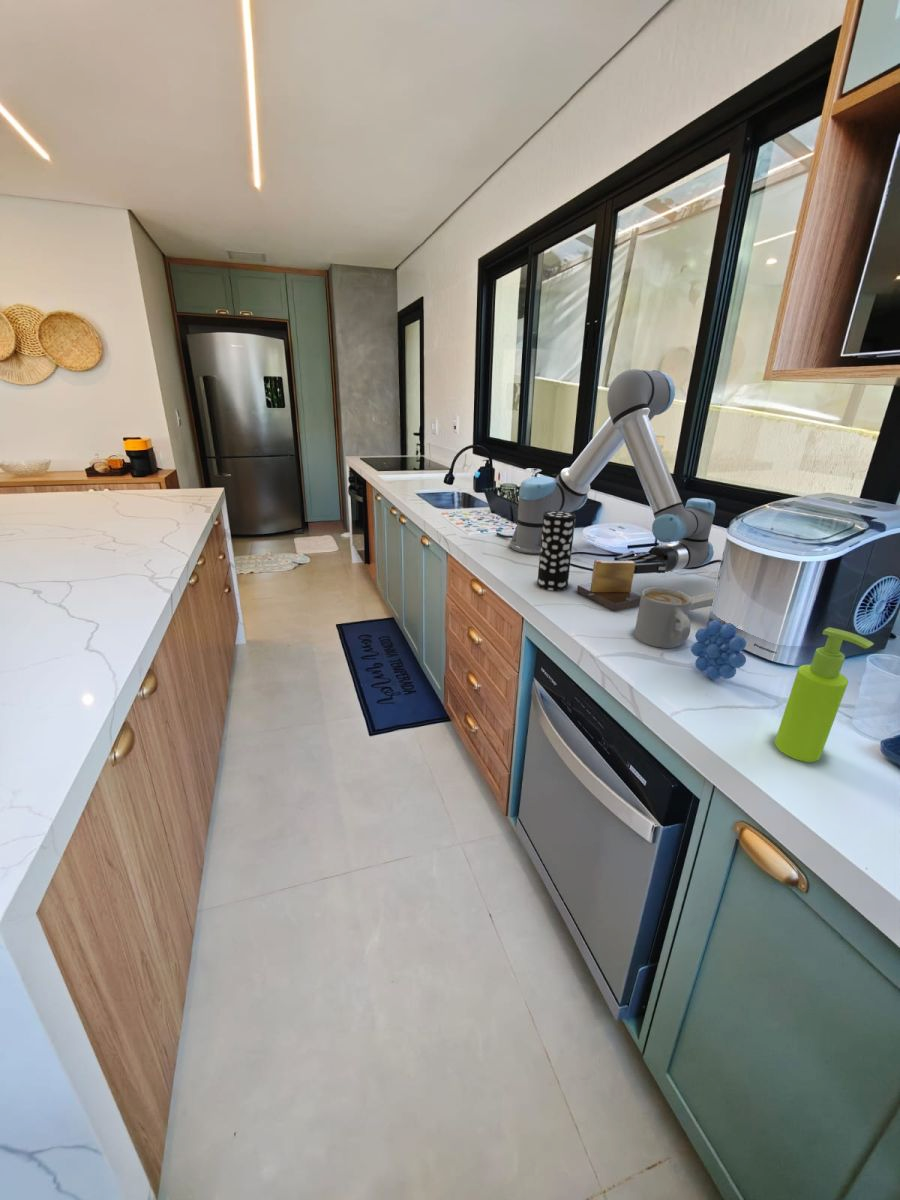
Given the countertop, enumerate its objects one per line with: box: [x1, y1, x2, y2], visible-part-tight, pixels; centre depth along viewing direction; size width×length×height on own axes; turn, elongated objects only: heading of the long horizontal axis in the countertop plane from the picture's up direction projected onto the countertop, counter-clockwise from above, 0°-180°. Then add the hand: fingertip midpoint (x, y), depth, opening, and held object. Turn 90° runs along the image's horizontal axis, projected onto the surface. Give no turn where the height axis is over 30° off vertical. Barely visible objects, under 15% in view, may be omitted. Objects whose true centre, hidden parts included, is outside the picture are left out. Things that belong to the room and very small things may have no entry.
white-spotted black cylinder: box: [536, 511, 577, 592], centre depth 136 cm, size 8×8×20 cm
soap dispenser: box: [774, 626, 875, 763], centre depth 72 cm, size 6×7×20 cm
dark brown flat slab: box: [576, 582, 641, 612], centre depth 132 cm, size 14×14×2 cm
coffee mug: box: [633, 586, 692, 649], centre depth 108 cm, size 13×10×10 cm
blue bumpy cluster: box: [690, 619, 747, 680], centre depth 93 cm, size 12×7×12 cm, turn 17°
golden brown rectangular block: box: [590, 559, 635, 592], centre depth 130 cm, size 10×2×8 cm, turn 92°
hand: (601, 569), depth 131 cm, fingers closed
